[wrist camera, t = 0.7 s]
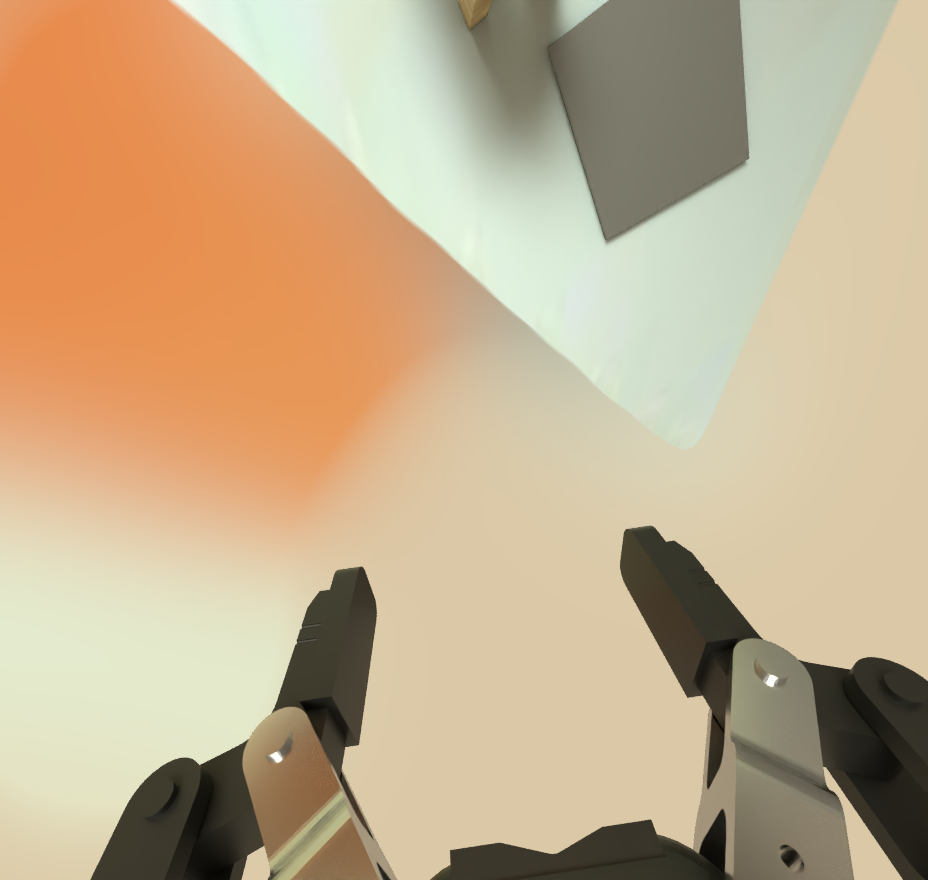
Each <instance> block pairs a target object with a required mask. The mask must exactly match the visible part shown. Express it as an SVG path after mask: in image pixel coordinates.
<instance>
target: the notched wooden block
mask: <svg viewBox="0 0 928 880" xmlns="http://www.w3.org/2000/svg"><path fill="white" fill-rule="evenodd" d="M491 3H492V0H459V6H460V8H461V11H462V13H463V16H464V18H465V21H466V24H467V26H468V29H469V30H470V29H472V28H473V27H474V26H475V25H476V24H477V23H479V22H480V21H481V20H482V19H483V18H484V17H485V16H487V14H488V11H489V8H490V6H491Z"/></svg>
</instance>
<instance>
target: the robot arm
mask: <svg viewBox="0 0 928 880" xmlns="http://www.w3.org/2000/svg"><path fill="white" fill-rule="evenodd" d="M620 569H621V574H622V577H623V581H624V583H625V585H626V587H627V589H628V591H629V592H630V594H631V596H632V598H633V600H634V602H635V603H636V605H637V607H638V609H639V611H640V612H641V614H642V616H643V618H644V620H645V621H646V623H647V625H648V627H649V629H650V631H651V632H652V634H653V636H654V638H655V639H656V641H657V643H658V645H659V647H660V649H661V650H662V652H663V654H664V656H665V658H666V660H667V661H668V663H669V665H670V667H671V669H672V671H673V672H674V674H675V676H676V678H677V680H678V681H679V683H680V685H681V687H682V689H683V691H684V692H685V694H686V696H687V698H689V697H695V696H702V695H703V697H704V698H705V700H706V702H707V703H708V705H709V707H710V709H709V713H708V725H707V737H706V750H705V763H704V774H703V786H702V787H703V788H702V795H701V801H700V805H699V810H698V815H697V820H696V826H695V834H694V845H693V849H691V848H689V847H687V846H685V845H683V844H681V843H680V842H678V841H675V840H673V839H670V838H667V837H665V836H661V835H657V834H656V831H655V828H654V826H653V823H652V821H651V820H645V821H639V822H632V823H625V824H620V825H612V826H606V827H601V828H600V829H598V830H596V831H595V832H593V833H591V834H590V835H588V836H586V837H584V838H583V839H581V840H579V841H578V842H576V843H574V844H573V845H571V846H570V847H568V848H566V849H564V850H563V851H561V852H559V853H557V854H548V853H543V852H539V851H535V850H530V849H525V848H521V847H517V846H512V845H508V844H503V843H495V844H488V845H481V846H476V847H468V848H462V849H456V850H450V859H451V860H450V862H451V865H450V866H448V867H446V868H444V869H443V870H441V871H440V872H439V873H438V874H436V875H435V876H434V877H433V878H432V879H431V880H854V876H853V869H852V863H851V856H850V850H849V843H848V836H847V829H846V823H845V817H844V812H843V808H842V805H841V802H840V800H839V798H838V796H837V795H836V794H835V793H834V792H833V791H831V790H829V789H828V787H827V785H826V782H825V777H824V770H823V767H826V768H827V769H828V771H829V772H830V774H831V775H832V777H833V778H834V779H835V781H836V782H837V784H838V785H839V787H840V788H841V790H842V791H843V793H844V794H845V796H846V797H847V798H848V800H849V801H850V803H851V804H852V806H853V807H854V809H855V810H856V811H857V813H858V814H859V816H860V817H861V819H862V820H863V822H864V823H865V825H866V826H867V827H868V829H869V831H870V832H871V834H872V835H873V836H874V838H875V839H876V841H877V842H878V844H879V845H880V847H881V848H882V849H883V851H884V853H885V854H886V855H887V856H888V858H889V860H890V861H891V863H892V864H893V865H894V867H895V868H896V870H897V871H898V873H899V874H900V876H901V877H902V879H903V880H928V681H927V680H926V679H924V678H923V677H921V676H920V675H918V674H917V673H915V672H914V671H912V670H910V669H908V668H906V667H904V666H902V665H900V664H898V663H895V662H892V661H889V660H886V659H882V658H875V657H867V658H863V659H860V660H858V661H857V662H856V663H855V665H854V666H853V667H852V669H851V670H849V669H843V668H838V667H831V666H826V665H820V664H814V663H808V662H804V661H800V660H798V659H797V658H796V657H795V656H793V655H792V654H791V653H790V652H788V651H787V650H785V649H784V648H782V647H780V646H778V645H776V644H774V643H772V642H768V641H766V640H763V639H762V638H761V637H760V636H759V635H758V633H757V632H756V631H755V630H754V629H753V628H752V626H751V625H750V624H749V623H748V621H747V620H746V619H745V618H744V616H743V615H742V614H741V613H740V612H739V610H738V609H737V608H736V607H735V605H734V604H733V603H732V602H731V600H730V599H729V598H728V597H727V596H726V594H725V593H724V592H723V591H722V589H721V588H720V587H719V586H718V584H715V582H714V580H713V578H712V577H711V576H710V575H709V573H708V572H707V571H705V570H704V567H703V566H702V565H701V563H700V562H699V561H698V560H697V559H696V557H695V556H694V555H693V554H692V553H691V552H690V551H688V550H687V549H685V548H684V547H682V546H681V545H680V544H678V543H677V542H675V541H669V542H666V541H665V540H664V539H663V537H662V536H661V535H660V533H659V532H658V531H657V530H656V529H655V528H654V527H653V526H645V527H638V528H631V529H626V530H625V532H624V537H623V545H622V552H621V561H620ZM376 614H377V610H376V601H375V597H374V595H373V592H372V589H371V586H370V584H369V581H368V578H367V575H366V572H365V570H364V568H363V567H356V568H348V569H342V570H337V571H336V572H335V574H334V578H333V581H332V585H331V588H330V590H326V591H320V592H319V593H318V594H317V596H316V597H315V598H314V600H313V601H312V603H311V604H310V605H309V607H308V608H307V611H306V614H305V618H304V620H303V623H302V629H301V630H300V633H299V636H298V639H297V644H296V645H295V648H294V651H293V654H292V657H291V660H290V663H289V666H288V669H287V672H286V675H285V678H284V681H283V685H282V687H281V690H280V694H279V697H278V700H277V702H276V705H275V708H274V709H273V711H272V713H271V714H270V715H269V716H268V717H266V718H265V719H264V720H263V721H262V722H261V723H260V724H259V725H258V726H257V728H256V729H255V730H254V732H253V733H252V735H251V736H250V738H249V739H248V740H247V741H245V742H244V743H242V744H240V745H239V746H237V747H235V748H233V749H231V750H229V751H227V752H225V753H223V754H221V755H219V756H217V757H215V758H213V759H211V760H209V761H207V762H205V763H203V764H201V765H199V764H198V763H197V762H195V761H194V760H193V759H191V758H179V759H175V760H172V761H171V762H168V763H166V764H165V765H163V766H161V767H160V768H159V769H158V770H156V771H155V772H154V773H152V774H151V775H150V776H149V777H148V778H147V779H146V780H145V781H144V782H143V783H142V785H140V787H139V788H138V789H137V791H136V792H135V793H134V795H133V796H132V798H131V799H130V801H129V802H128V804H127V806H126V808H125V810H124V812H123V814H122V816H121V818H120V820H119V822H118V824H117V826H116V828H115V830H114V832H113V835H112V837H111V839H110V841H109V843H108V845H107V847H106V849H105V851H104V853H103V855H102V857H101V859H100V861H99V863H98V865H97V867H96V869H95V871H94V873H93V876H92V878H91V880H241V879H242V875H243V871H244V868H245V863H246V860H247V856H248V855H249V854H251V853H252V852H254V851H256V850H258V849H259V848H261V847H263V846H265V850H266V853H267V857H268V861H269V865H270V877H269V878H268V880H397V879H396V877H395V875H394V873H393V871H392V869H391V867H390V865H389V863H388V861H387V860H386V858H385V856H384V854H383V852H382V851H381V849H380V847H379V845H378V843H377V841H376V839H375V837H374V835H373V833H372V831H371V828H370V826H369V824H368V822H367V820H366V818H365V816H364V814H363V812H362V810H361V808H360V805H359V804H358V801H357V799H356V797H355V795H354V793H353V791H352V789H351V787H350V785H349V783H348V780H347V778H346V776H345V774H344V772H343V770H342V763H343V757H344V750H345V747H349V746H356V745H359V740H360V733H361V725H362V719H363V712H364V705H365V697H366V690H367V683H368V675H369V669H370V661H371V654H372V647H373V639H374V633H375V626H376V617H377V615H376Z"/></svg>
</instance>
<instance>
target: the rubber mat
mask: <svg viewBox="0 0 928 880" xmlns="http://www.w3.org/2000/svg"><path fill="white" fill-rule="evenodd" d="M548 51H549V55H550V58H551V61H552V65H553V68H554V71H555V75H556V78H557V81H558V84H559V88H560V91H561V94H562V98H563V101H564V104H565V108H566V111H567V114H568V117H569V121H570V124H571V127H572V131H573V134H574V137H575V141H576V144H577V147H578V150H579V154H580V157H581V160H582V164H583V167H584V170H585V174H586V177H587V180H588V183H589V187H590V190H591V193H592V197H593V200H594V203H595V207H596V210H597V213H598V216H599V220H600V223H601V226H602V230H603V233H604V236H605V239H606V240H608V239H610V238H611V237H613V236H615V235H617V234H618V233H620V232H622V231H624V230H625V229H627V228H629V227H631V226H632V225H634V224H636V223H638V222H639V221H641V220H643V219H645V218H646V217H648V216H650V215H652V214H653V213H655V212H657V211H658V210H660V209H662V208H664V207H665V206H667V205H669V204H671V203H672V202H674V201H676V200H678V199H679V198H681V197H683V196H685V195H686V194H688V193H690V192H692V191H693V190H695V189H697V188H699V187H700V186H702V185H704V184H705V183H707V182H709V181H711V180H712V179H714V178H716V177H718V176H719V175H721V174H723V173H725V172H726V171H728V170H730V169H732V168H733V167H735V166H737V165H739V164H740V163H742V162H744V161H746V160H747V159H749V148H748V132H747V116H746V100H745V83H744V67H743V51H742V35H741V19H740V3H739V0H609V1H607V2H606V3H605V4H604V5H602V6H601V7H600V8H599V9H597V10H596V11H595V12H593V13H592V14H591V15H590V16H588V17H587V18H586V19H584V20H583V21H582V22H581V23H579V24H578V25H577V26H575V27H574V28H573V29H572V30H570V31H569V32H568V33H566V34H565V35H564V36H563V37H561V38H560V39H559V40H558V41H556V42H555V43H554V44H552V45H551V46H550V47H549V48H548Z"/></svg>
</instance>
